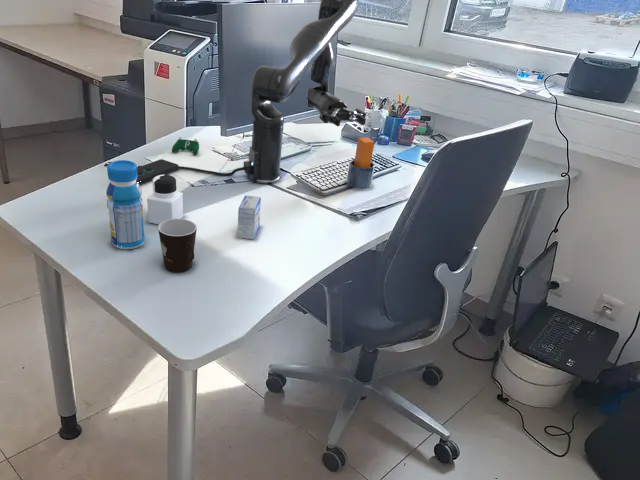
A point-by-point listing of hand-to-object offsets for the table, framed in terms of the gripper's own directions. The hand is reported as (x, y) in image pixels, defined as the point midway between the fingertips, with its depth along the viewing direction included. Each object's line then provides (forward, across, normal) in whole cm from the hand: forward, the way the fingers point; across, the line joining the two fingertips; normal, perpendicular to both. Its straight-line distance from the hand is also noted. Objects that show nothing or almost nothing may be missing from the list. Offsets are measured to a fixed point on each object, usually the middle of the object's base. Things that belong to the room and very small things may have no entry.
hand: (351, 122), depth 175 cm
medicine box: (+36, -43, +16) cm, 59 cm away
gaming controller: (-27, -48, +16) cm, 57 cm away
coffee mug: (+51, -64, +16) cm, 84 cm away
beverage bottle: (+36, -74, +16) cm, 84 cm away
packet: (+11, 0, +16) cm, 19 cm away
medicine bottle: (+25, -63, +16) cm, 70 cm away
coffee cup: (+11, 0, +16) cm, 20 cm away
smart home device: (-7, -64, +16) cm, 66 cm away
